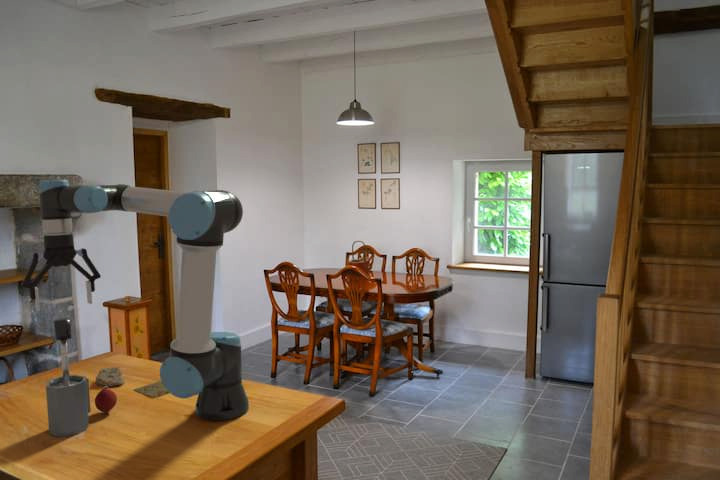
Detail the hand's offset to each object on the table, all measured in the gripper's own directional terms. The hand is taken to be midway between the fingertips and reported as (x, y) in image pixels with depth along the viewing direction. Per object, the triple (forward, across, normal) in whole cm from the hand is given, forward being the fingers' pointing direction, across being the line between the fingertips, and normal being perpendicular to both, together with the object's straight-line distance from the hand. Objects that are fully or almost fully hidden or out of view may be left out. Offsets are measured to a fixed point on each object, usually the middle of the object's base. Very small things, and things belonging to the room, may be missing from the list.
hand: (64, 306), depth 165 cm
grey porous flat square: (+32, -26, -1) cm, 41 cm away
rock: (+31, -14, -16) cm, 38 cm away
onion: (+31, -7, +9) cm, 33 cm away
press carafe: (+31, +4, +14) cm, 34 cm away
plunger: (+19, +4, +14) cm, 24 cm away
